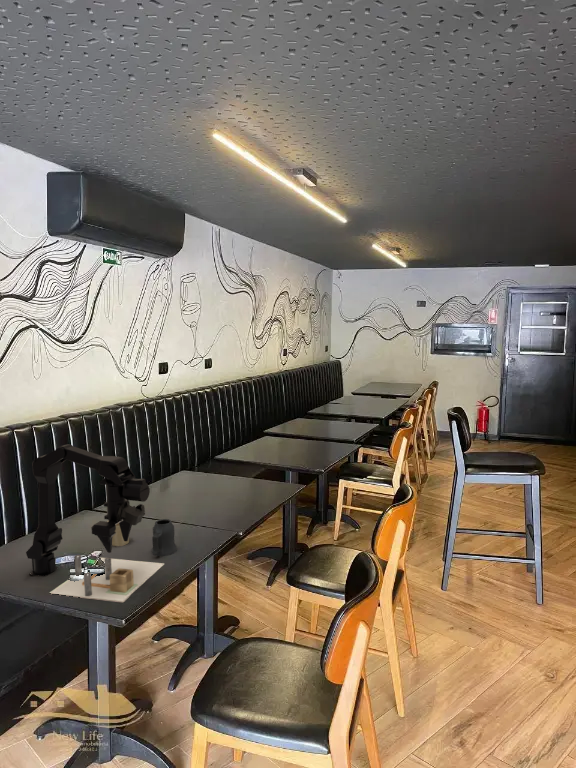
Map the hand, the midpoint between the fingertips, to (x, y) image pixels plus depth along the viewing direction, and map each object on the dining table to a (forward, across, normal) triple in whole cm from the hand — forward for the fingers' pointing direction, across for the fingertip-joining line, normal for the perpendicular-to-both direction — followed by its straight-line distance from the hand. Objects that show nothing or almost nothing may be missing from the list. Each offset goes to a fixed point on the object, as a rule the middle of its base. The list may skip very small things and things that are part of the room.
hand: (117, 546), depth 173 cm
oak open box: (+11, -5, -4) cm, 13 cm away
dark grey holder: (+12, +23, -3) cm, 26 cm away
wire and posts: (+11, -3, +8) cm, 14 cm away
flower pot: (+12, +28, +17) cm, 35 cm away
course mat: (+12, +1, +4) cm, 12 cm away
